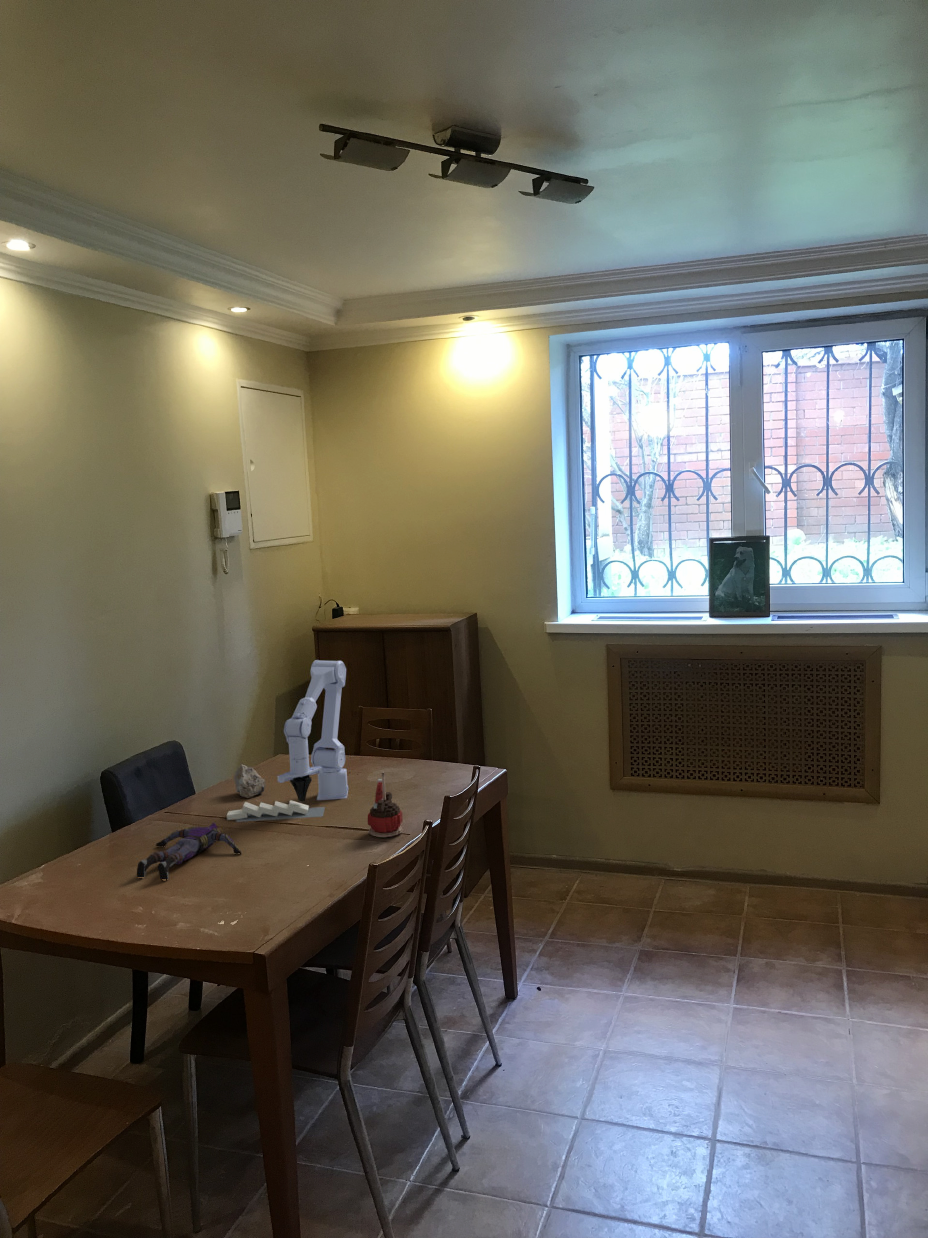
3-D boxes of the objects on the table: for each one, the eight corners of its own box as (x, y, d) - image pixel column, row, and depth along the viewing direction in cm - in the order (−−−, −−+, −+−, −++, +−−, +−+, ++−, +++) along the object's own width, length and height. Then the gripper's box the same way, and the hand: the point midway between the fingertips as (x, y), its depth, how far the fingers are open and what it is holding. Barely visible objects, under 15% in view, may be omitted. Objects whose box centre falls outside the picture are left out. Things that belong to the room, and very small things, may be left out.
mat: (324, 808, 299) (324, 807, 299) (323, 817, 290) (322, 816, 290) (240, 813, 297) (240, 812, 297) (235, 822, 288) (235, 822, 288)
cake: (396, 840, 268) (393, 778, 266) (364, 839, 270) (361, 777, 268) (406, 827, 278) (403, 767, 276) (375, 826, 280) (372, 766, 278)
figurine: (198, 889, 242) (259, 843, 270) (196, 866, 241) (257, 822, 269) (108, 879, 251) (175, 836, 279) (105, 857, 250) (173, 815, 278)
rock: (245, 809, 309) (264, 785, 309) (218, 786, 311) (237, 762, 310) (255, 804, 319) (273, 780, 318) (229, 781, 320) (247, 758, 319)
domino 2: (263, 808, 295) (245, 801, 294) (262, 813, 291) (243, 805, 290) (261, 813, 295) (243, 806, 294) (260, 817, 291) (241, 810, 290)
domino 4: (294, 806, 296) (275, 801, 295) (293, 810, 292) (274, 805, 291) (292, 811, 296) (274, 805, 295) (291, 815, 292) (272, 810, 291)
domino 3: (279, 807, 295) (260, 802, 295) (278, 811, 291) (259, 806, 291) (278, 812, 295) (259, 807, 295) (276, 816, 292) (257, 811, 291)
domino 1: (248, 808, 295) (228, 811, 294) (246, 812, 291) (226, 815, 290) (249, 813, 295) (229, 816, 294) (247, 817, 291) (227, 820, 290)
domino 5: (309, 805, 296) (290, 800, 295) (307, 810, 292) (288, 804, 291) (307, 810, 296) (288, 805, 295) (306, 814, 292) (287, 809, 292)
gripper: (313, 750, 299) (315, 792, 301) (271, 759, 290) (274, 803, 292) (325, 754, 294) (327, 797, 296) (282, 764, 285) (285, 808, 287)
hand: (301, 800), depth 294 cm, fingers closed
